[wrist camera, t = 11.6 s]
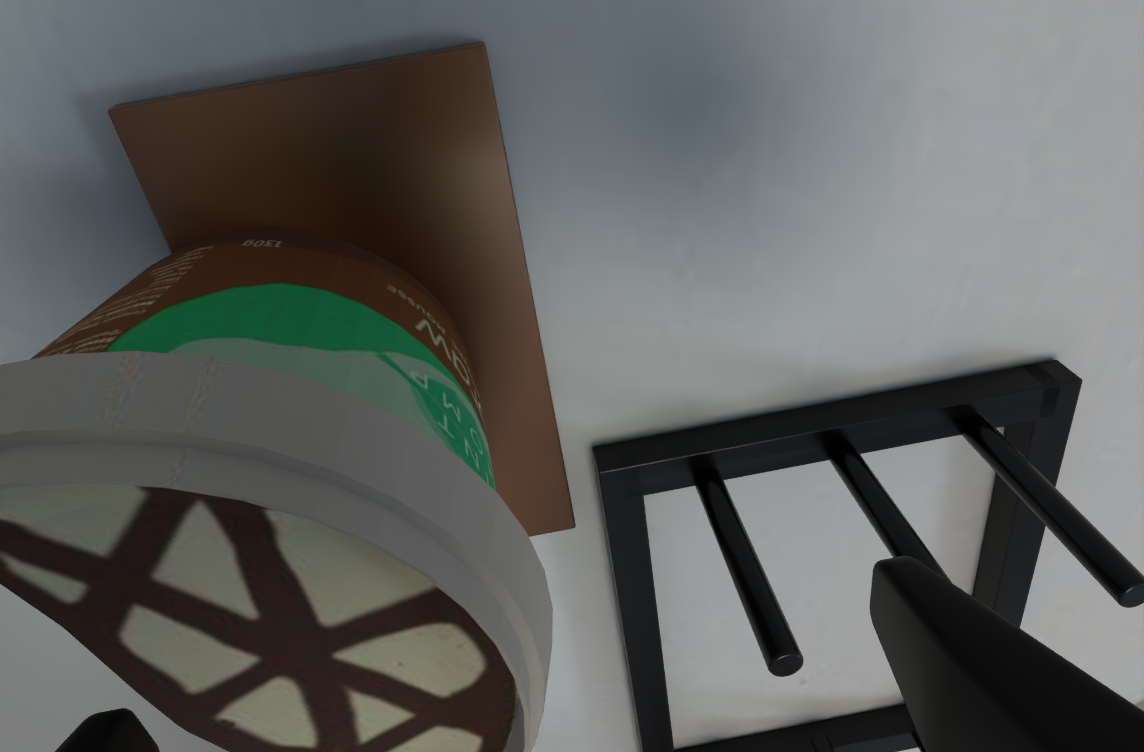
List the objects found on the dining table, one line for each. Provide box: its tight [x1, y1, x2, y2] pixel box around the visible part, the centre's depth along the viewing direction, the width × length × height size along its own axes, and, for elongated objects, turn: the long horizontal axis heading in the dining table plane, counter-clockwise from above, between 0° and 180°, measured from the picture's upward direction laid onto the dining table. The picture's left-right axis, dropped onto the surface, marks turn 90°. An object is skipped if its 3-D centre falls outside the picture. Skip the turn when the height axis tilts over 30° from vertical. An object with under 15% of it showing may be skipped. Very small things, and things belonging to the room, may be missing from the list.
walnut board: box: [108, 42, 576, 537], centre depth 20 cm, size 8×14×1 cm, turn 8°
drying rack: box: [593, 360, 1144, 752], centre depth 25 cm, size 14×17×8 cm
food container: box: [0, 231, 553, 752], centre depth 16 cm, size 12×6×10 cm, turn 30°
